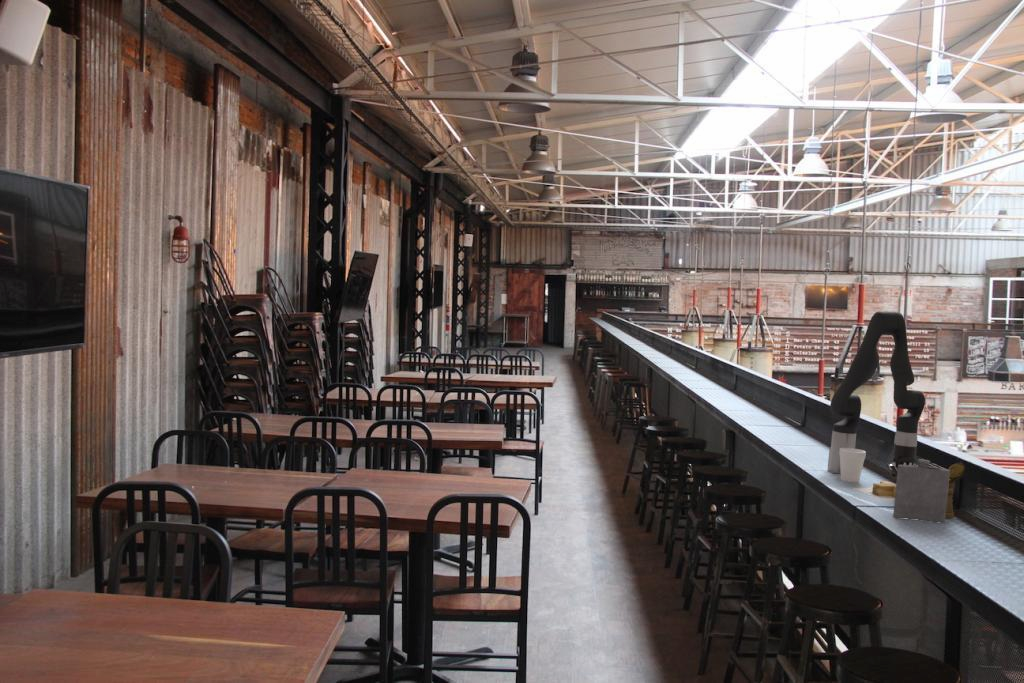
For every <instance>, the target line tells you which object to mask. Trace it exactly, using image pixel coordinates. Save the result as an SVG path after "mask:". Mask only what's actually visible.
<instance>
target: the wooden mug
mask: <svg viewBox="0 0 1024 683" xmlns="http://www.w3.org/2000/svg"><path fill="white" fill-rule="evenodd" d="M947 469H948V470H950V478H949V488H948V498H947V507H946V517H945V519H953V518H954V517H955V513H954V510H953V509H954V508H953V506H954V505H953V495H954V493H955V492H954V491H955V481H956V480H959V479H961V478H962V477H963V476H964V475H965V472H966V466H965V464H964V463H963V462H957V463H954V464H952V465H950V466H949V467H948V468H947Z"/></svg>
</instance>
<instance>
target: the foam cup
mask: <svg viewBox="0 0 1024 683" xmlns="http://www.w3.org/2000/svg"><path fill="white" fill-rule="evenodd" d="M839 455H840V470H841V474H840V481H841V482H849V483H860V479H861V476H862V475H861V474H862V471H863V466H864V462H865V459H866V455H867V451H865V450H864V449H863V450H862V449H858V448H855V449H853V448H840V452H839Z"/></svg>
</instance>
